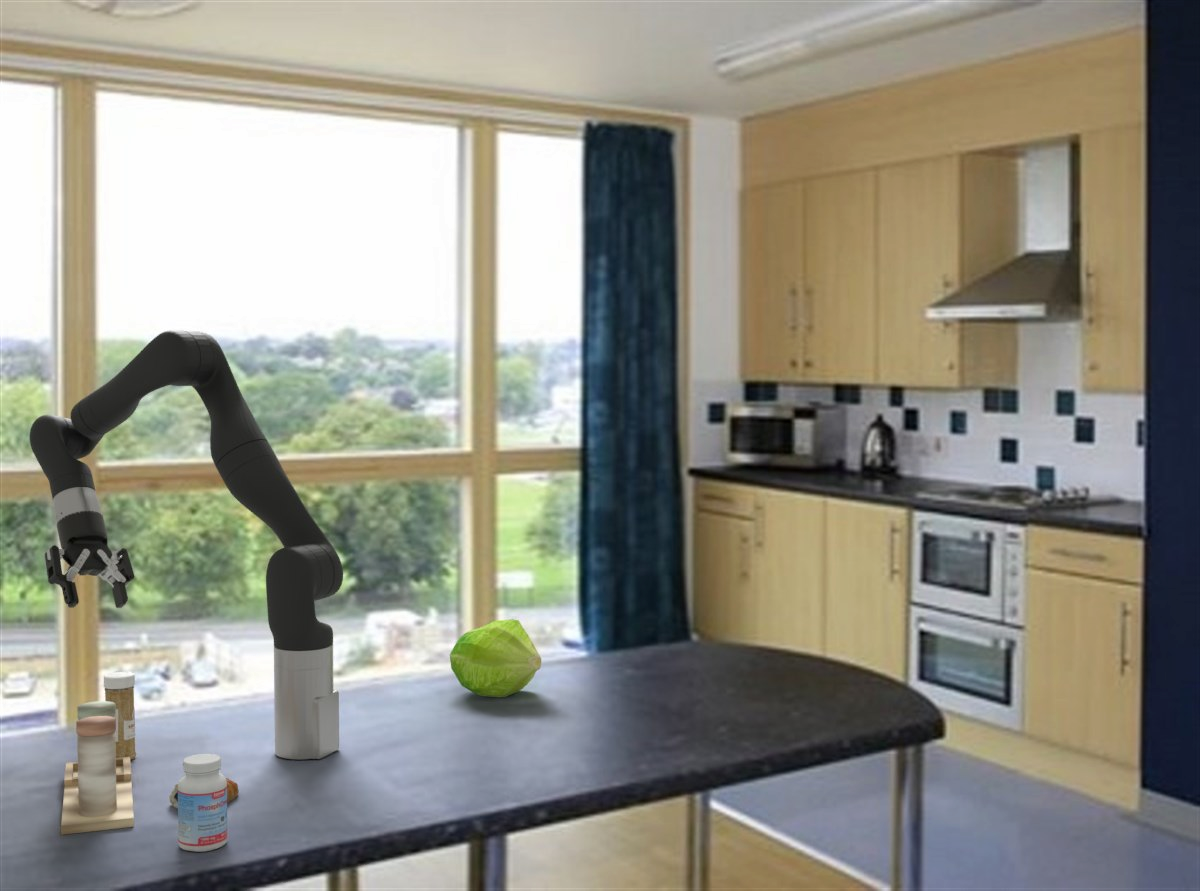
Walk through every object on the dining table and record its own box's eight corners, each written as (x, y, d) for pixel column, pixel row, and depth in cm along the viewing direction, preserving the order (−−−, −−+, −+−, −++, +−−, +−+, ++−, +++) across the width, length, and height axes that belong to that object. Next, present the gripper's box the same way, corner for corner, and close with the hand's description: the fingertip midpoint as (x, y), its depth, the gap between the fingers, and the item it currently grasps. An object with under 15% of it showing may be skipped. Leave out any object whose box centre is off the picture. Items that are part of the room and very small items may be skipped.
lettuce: (516, 713, 236) (494, 642, 235) (446, 709, 251) (425, 642, 249) (571, 679, 247) (551, 610, 245) (501, 677, 261) (481, 613, 259)
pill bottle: (205, 856, 166) (204, 768, 166) (168, 848, 169) (166, 762, 168) (237, 840, 172) (236, 755, 171) (201, 833, 174) (199, 749, 174)
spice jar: (139, 760, 207) (138, 674, 206) (109, 764, 204) (107, 678, 203) (132, 752, 210) (130, 669, 210) (102, 757, 208) (100, 672, 207)
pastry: (219, 789, 193) (218, 763, 193) (250, 798, 189) (250, 772, 189) (165, 807, 185) (164, 780, 185) (196, 817, 182) (196, 789, 181)
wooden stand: (66, 777, 198) (64, 687, 197) (130, 770, 201) (128, 682, 200) (61, 834, 174) (59, 732, 173) (133, 826, 177) (132, 726, 176)
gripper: (50, 506, 218) (68, 595, 212) (128, 511, 229) (148, 596, 223) (28, 528, 222) (46, 616, 216) (106, 532, 233) (125, 615, 227)
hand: (98, 605), depth 219 cm, fingers open, 8 cm apart
